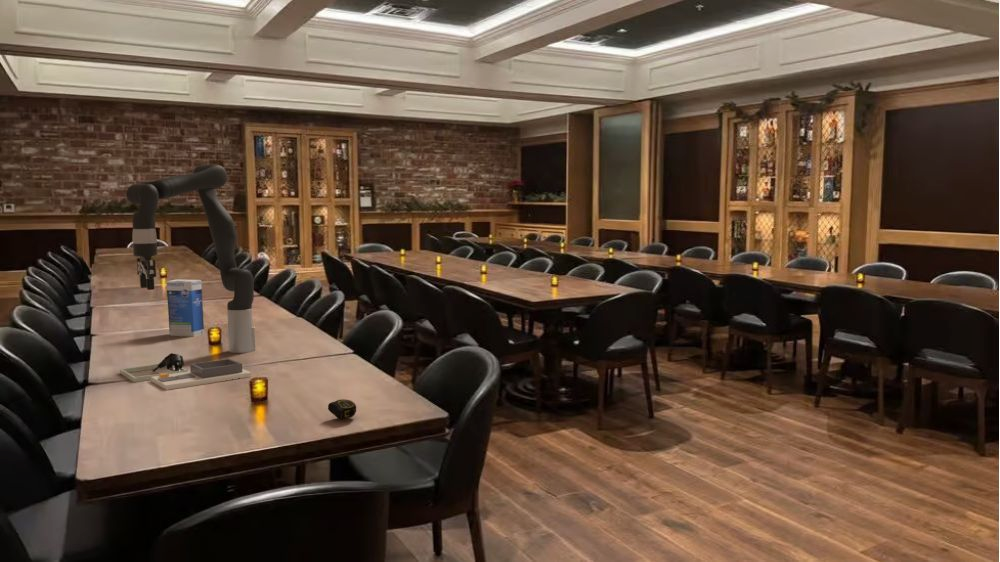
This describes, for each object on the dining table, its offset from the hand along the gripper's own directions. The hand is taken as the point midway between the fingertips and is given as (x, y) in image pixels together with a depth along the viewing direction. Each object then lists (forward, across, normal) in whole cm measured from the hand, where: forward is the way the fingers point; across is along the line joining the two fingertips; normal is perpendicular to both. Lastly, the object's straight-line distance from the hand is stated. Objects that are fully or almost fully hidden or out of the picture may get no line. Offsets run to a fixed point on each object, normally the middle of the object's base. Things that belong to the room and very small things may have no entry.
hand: (147, 288), depth 255 cm
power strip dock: (+30, -20, -11) cm, 38 cm away
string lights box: (+30, +67, -32) cm, 80 cm away
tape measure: (+30, -91, -23) cm, 98 cm away
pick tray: (+30, -1, 0) cm, 30 cm away
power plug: (+32, 0, -1) cm, 32 cm away
